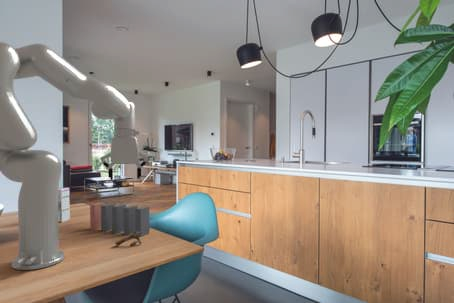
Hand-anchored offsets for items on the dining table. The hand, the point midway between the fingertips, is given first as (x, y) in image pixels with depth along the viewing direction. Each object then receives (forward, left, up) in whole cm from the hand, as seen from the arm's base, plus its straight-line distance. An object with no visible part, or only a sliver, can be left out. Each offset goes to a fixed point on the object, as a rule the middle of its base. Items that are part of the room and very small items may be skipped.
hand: (125, 179), depth 110 cm
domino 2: (+4, +7, -20) cm, 22 cm away
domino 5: (-4, -7, -20) cm, 22 cm away
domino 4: (-1, -2, -20) cm, 21 cm away
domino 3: (+1, +3, -20) cm, 21 cm away
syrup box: (+22, +32, -20) cm, 44 cm away
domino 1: (+7, +12, -20) cm, 25 cm away
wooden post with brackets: (-16, -4, -21) cm, 26 cm away
